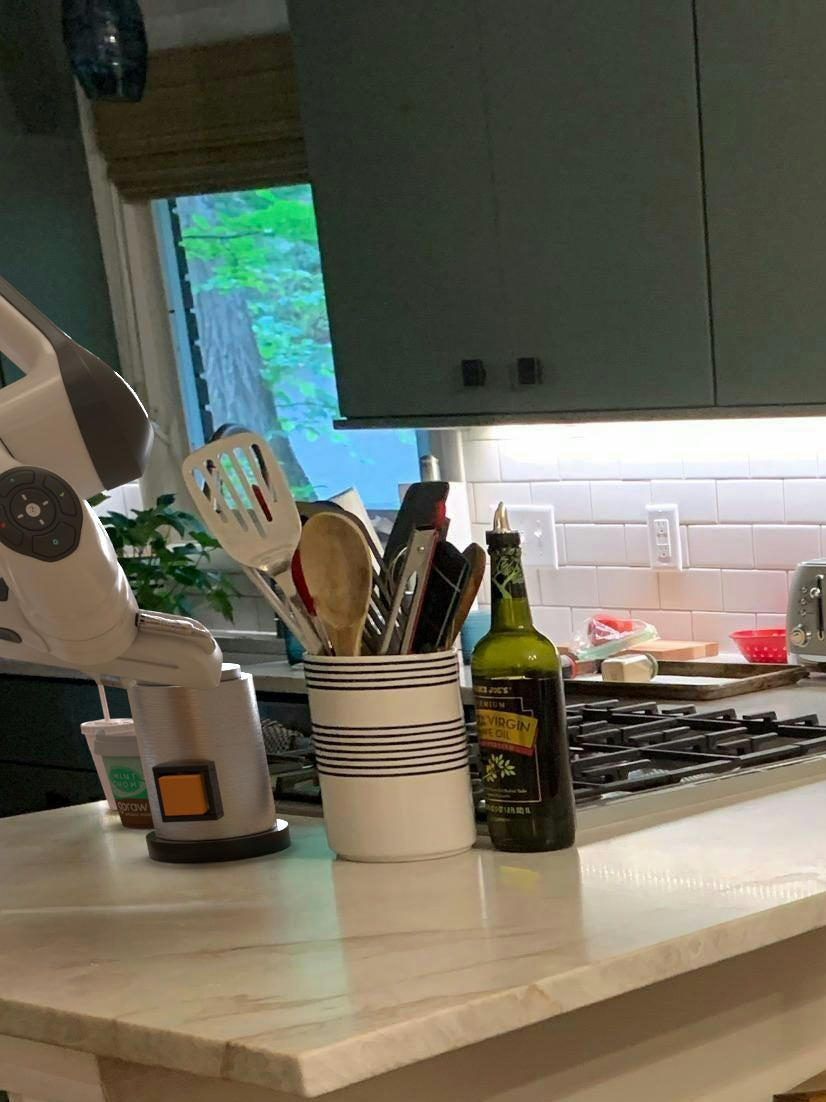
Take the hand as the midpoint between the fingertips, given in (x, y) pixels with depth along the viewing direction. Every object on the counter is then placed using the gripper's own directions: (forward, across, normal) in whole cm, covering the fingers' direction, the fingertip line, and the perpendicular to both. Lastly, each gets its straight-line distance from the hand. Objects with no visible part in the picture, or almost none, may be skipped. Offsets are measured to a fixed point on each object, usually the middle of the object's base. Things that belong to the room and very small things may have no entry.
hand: (116, 679), depth 176 cm
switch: (+15, -4, +6) cm, 17 cm away
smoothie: (+52, +10, -7) cm, 54 cm away
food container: (+40, +4, -1) cm, 41 cm away
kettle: (+25, -6, +6) cm, 26 cm away
